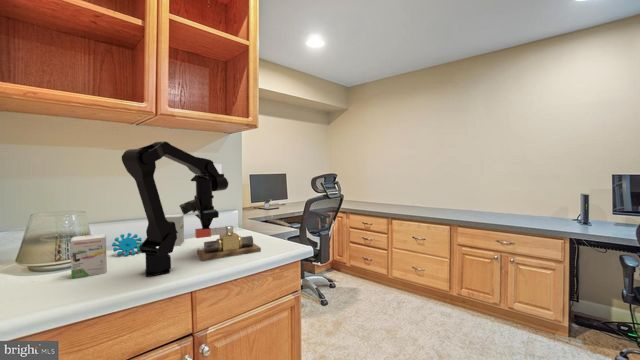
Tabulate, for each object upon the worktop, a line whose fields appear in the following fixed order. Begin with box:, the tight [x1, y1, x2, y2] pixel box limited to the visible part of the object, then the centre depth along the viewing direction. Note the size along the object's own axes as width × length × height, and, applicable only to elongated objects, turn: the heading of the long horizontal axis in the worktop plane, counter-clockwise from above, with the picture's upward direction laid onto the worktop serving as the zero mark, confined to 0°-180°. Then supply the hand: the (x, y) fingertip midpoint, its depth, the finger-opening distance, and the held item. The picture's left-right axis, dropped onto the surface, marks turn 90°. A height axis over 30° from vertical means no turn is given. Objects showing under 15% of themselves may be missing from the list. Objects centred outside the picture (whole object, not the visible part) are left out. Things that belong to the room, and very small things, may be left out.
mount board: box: [196, 242, 262, 262], centre depth 112 cm, size 22×10×2 cm, turn 122°
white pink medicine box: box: [70, 233, 108, 279], centre depth 90 cm, size 8×5×12 cm, turn 125°
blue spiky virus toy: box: [111, 232, 144, 257], centre depth 112 cm, size 11×6×10 cm
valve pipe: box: [203, 232, 254, 253], centre depth 112 cm, size 18×6×6 cm, turn 122°
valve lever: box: [194, 225, 234, 239], centre depth 109 cm, size 14×3×3 cm, turn 121°
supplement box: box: [165, 213, 185, 247], centre depth 126 cm, size 7×7×13 cm
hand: (205, 233), depth 110 cm, fingers closed
